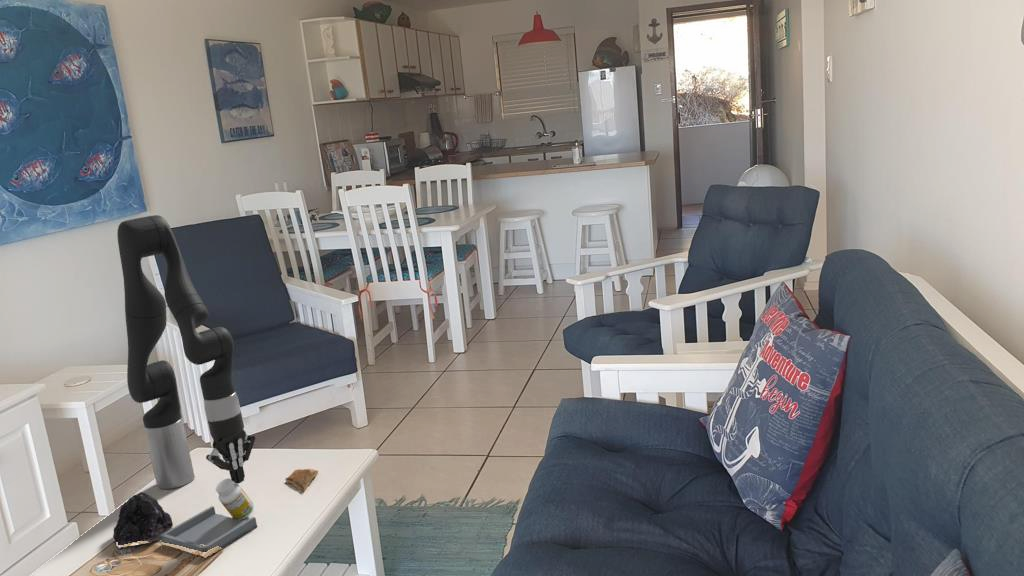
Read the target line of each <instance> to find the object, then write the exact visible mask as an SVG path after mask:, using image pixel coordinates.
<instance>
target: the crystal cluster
mask: <svg viewBox="0 0 1024 576" xmlns="http://www.w3.org/2000/svg"><path fill="white" fill-rule="evenodd" d="M172 520H173V519H172V517H171V515H170V514H169V513H168V512H166V511H165V510H164V509H163V507H162V506H161V504H159V502H158V501H157V499H156V498H154V497H152V495H149V494H148V493H147V492H144V491H142V492H141V491H140V492H138V493H137V494H133V495H132V496H130V497H129V498H128V500H127V501H126V502H124V504H122V505H121V506H120V510H119V513H118V519H117V522H116V524H115V526H114V528H113V535H112V536H113V542H118V545H124V544H128V543H132V542H137V541H148V542H151V541H153V542H156V541H160V540H161V536H160V535H161V534H163V533H165V532H167V531H168V530H170V529H172V528H173V527H174V526H173V525H174V523H173V521H172ZM151 543H152V542H151Z"/></svg>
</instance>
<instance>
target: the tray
mask: <svg viewBox="0 0 1024 576" xmlns="http://www.w3.org/2000/svg"><path fill="white" fill-rule="evenodd" d="M256 528H258V523H257V519H256V517H255V516H252V517H250V518H249V519H247V520H243V519H242V520H238V519H234V518H233V517H232V516H231V517H229V516H227V515H223V514H218V513H216V509H215V506H212V505H211V506H209V507H208V508H206V509H204V510H202V511H200V512H198V513H196V515H193V516H192V517H190V518H188V519H186V520H185V521H183V522H181V523H179V524H177V525H175V526H173V527H172V528H171V529H170V530H168V531H167V532H165V533H163V534H161V535H160V536H161V539H160V540H161V543H162V542H164V543H169V544H174V545H179V546H183V547H186V548H189V549H194V550H198V551H201V552H207V551H208V550H210V549H212V548H214V547H216V546H219V547H221V548H222V549H221V550H224V548H226V547H227V546H229V545H230V544H232V543H233V542H234V543H235V541H237V540H238V539H240V538H242V537H244V536H245V535H246V534H248V533H250V532H251V531H253V530H254V529H256ZM200 544H204V545H206V546H203V545H200Z"/></svg>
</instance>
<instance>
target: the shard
mask: <svg viewBox="0 0 1024 576" xmlns="http://www.w3.org/2000/svg"><path fill="white" fill-rule="evenodd" d="M317 473H318V474H319V470H318V469H314V468H313V469H312V468H305V469H303V468H302V469H294V470H293V471H292V473H290V474H289V475H288V477H285V479H284V480H285V482H287V483H289V484H291V485H292V486H294V487H295V488H296V487H297V488H296V489H298V490H300V491H301V490H302V492H304V491H305V490H306V491H307V489H308V487H309V486H310V484H311V482H312V481H313V480H314V479H315V477H316V476H317V475H318V474H317ZM312 479H313V480H312ZM309 483H310V484H309ZM306 491H305V492H306Z"/></svg>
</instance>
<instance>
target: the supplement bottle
mask: <svg viewBox="0 0 1024 576" xmlns="http://www.w3.org/2000/svg"><path fill="white" fill-rule="evenodd" d="M215 487H216V488H215V491H216V492H217V494H218V500H219V502H220V503H221V505H222V506H223V507H224V508H225V509H226V510H227V512H228V513H229V515H230V516H231V518H234V519H238V520H242V521H243V520H244V519H247V517H248V516H250V515H251V514H252V512H253V511H254V508H255V506H254V503H253V501H252V500H251V499H250V497H249V496H248V495H247V493H246V491H244V489H243V488H242V487H241V486H240V484H237V483H234V482H233V481H232V480H231V478H224V479H222V480H221V481H220V482H218V483H217V484H216V486H215Z"/></svg>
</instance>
